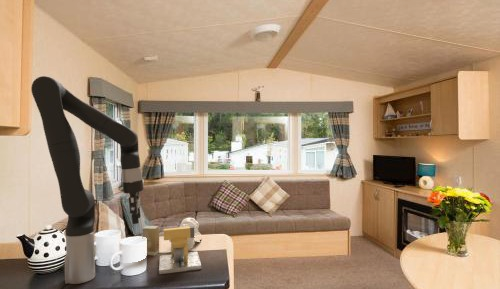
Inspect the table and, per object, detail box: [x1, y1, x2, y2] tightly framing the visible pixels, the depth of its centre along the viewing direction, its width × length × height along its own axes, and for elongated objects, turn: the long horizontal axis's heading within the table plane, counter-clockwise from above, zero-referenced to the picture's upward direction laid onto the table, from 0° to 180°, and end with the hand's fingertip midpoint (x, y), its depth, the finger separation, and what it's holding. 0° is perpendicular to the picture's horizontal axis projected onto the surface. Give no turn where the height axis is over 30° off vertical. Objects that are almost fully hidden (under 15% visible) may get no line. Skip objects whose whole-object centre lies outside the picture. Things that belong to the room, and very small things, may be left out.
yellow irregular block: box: [163, 226, 195, 248], centre depth 128 cm, size 12×6×7 cm, turn 105°
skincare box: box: [142, 225, 160, 256], centre depth 140 cm, size 6×4×12 cm
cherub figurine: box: [168, 217, 202, 251], centre depth 153 cm, size 13×12×20 cm
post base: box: [158, 244, 202, 275], centre depth 128 cm, size 16×16×10 cm
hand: (136, 220), depth 122 cm, fingers open, 8 cm apart
